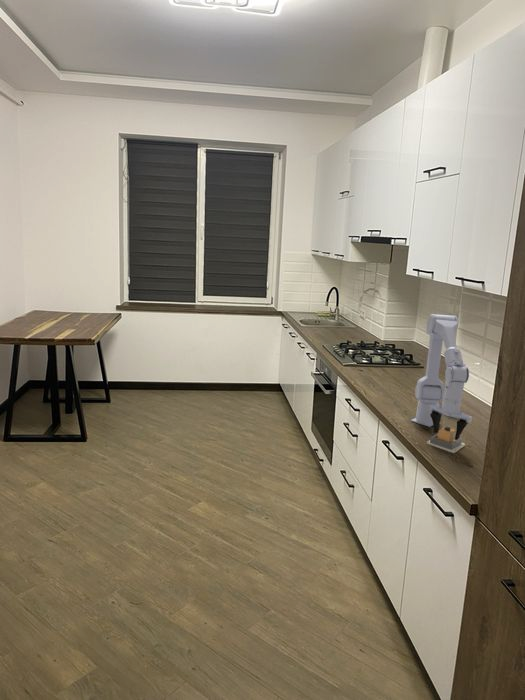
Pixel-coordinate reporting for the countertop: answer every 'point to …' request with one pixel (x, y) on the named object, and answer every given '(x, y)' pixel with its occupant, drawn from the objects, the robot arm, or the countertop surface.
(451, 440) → the block
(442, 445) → the end holder
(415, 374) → the countertop surface
